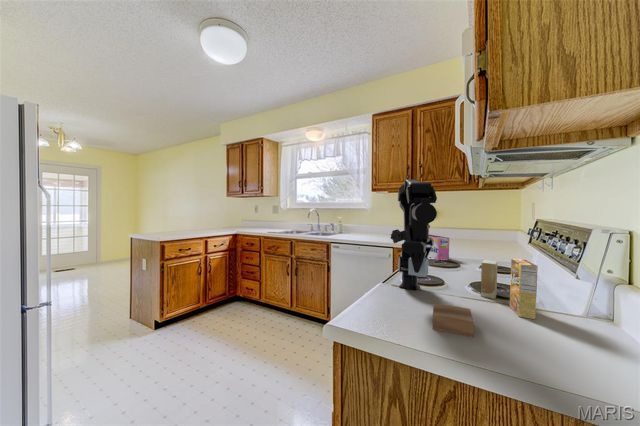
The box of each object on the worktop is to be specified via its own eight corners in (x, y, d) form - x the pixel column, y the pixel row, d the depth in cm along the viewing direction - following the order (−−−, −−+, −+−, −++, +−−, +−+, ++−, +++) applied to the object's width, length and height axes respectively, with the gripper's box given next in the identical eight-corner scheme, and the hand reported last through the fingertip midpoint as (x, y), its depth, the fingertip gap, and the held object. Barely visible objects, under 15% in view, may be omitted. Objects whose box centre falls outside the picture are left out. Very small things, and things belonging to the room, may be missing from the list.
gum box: (413, 253, 171) (414, 233, 171) (423, 253, 173) (424, 233, 173) (438, 260, 148) (438, 237, 147) (449, 260, 150) (450, 237, 149)
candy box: (508, 306, 80) (510, 258, 79) (525, 308, 78) (526, 259, 78) (518, 317, 72) (519, 264, 71) (537, 319, 70) (538, 265, 70)
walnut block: (433, 316, 72) (433, 303, 72) (469, 323, 68) (469, 308, 68) (432, 330, 64) (432, 314, 64) (473, 338, 60) (473, 322, 60)
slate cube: (411, 271, 83) (412, 256, 83) (428, 273, 80) (428, 258, 80) (408, 274, 79) (408, 258, 79) (425, 277, 76) (425, 260, 76)
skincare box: (482, 291, 93) (483, 259, 93) (496, 294, 90) (497, 260, 90) (480, 296, 88) (481, 262, 88) (495, 299, 85) (496, 263, 85)
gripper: (401, 219, 92) (400, 262, 92) (384, 222, 76) (384, 273, 76) (434, 221, 85) (433, 266, 86) (423, 223, 70) (422, 279, 70)
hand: (418, 270), depth 80 cm, fingers closed on slate cube, 5 cm apart
